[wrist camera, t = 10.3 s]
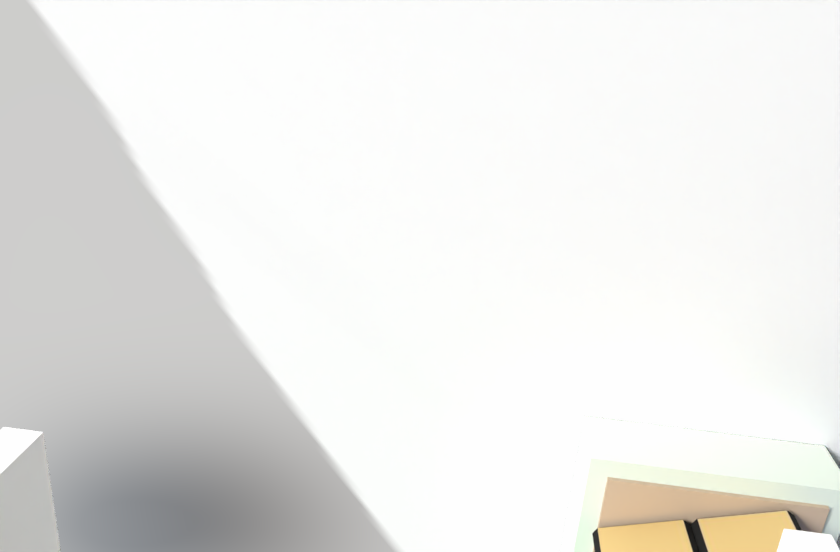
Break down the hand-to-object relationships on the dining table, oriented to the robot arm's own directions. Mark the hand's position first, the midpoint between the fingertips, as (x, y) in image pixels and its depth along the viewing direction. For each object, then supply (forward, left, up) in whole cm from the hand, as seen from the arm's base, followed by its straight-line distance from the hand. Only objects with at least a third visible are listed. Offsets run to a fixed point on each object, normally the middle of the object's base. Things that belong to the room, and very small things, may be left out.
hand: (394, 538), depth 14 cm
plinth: (-14, +20, -27) cm, 36 cm away
